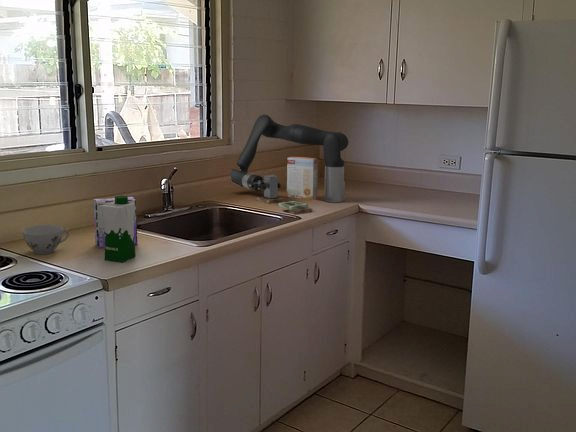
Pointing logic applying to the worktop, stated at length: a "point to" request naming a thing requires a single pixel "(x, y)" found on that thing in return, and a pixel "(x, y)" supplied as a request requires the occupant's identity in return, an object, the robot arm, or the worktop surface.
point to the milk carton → (119, 229)
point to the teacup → (44, 237)
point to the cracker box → (302, 177)
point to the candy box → (100, 220)
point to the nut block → (271, 187)
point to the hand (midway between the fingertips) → (272, 186)
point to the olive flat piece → (287, 205)
